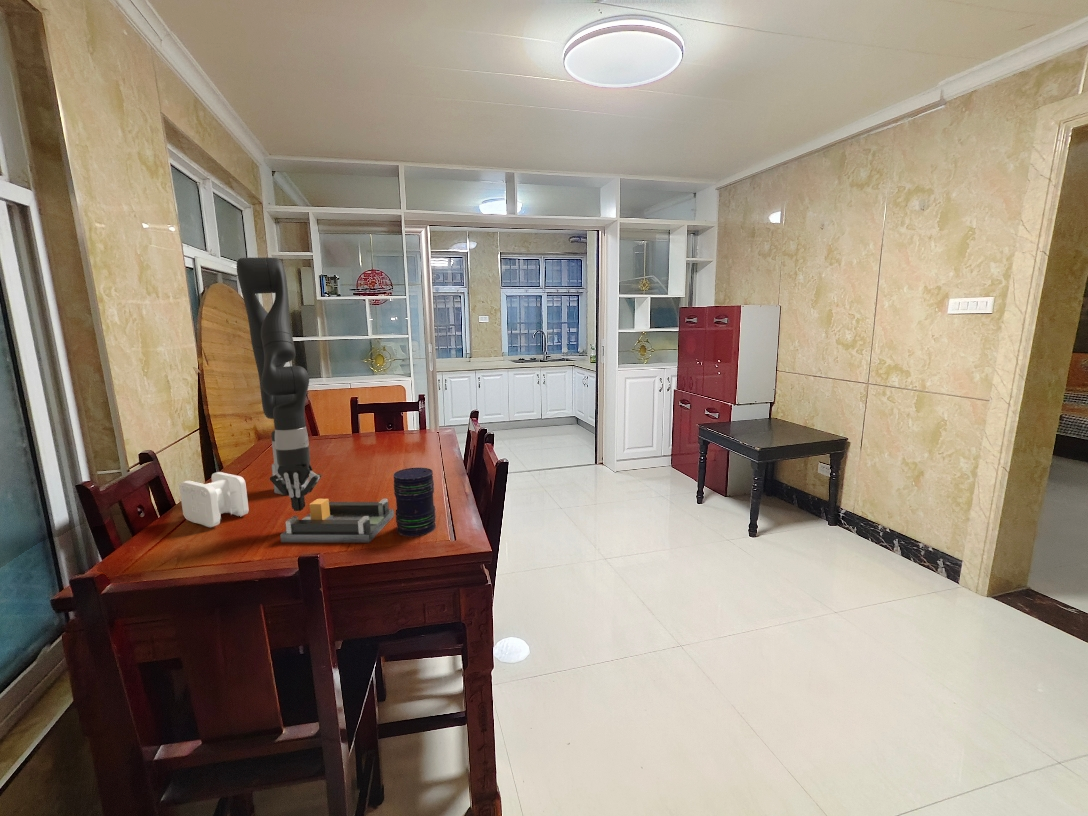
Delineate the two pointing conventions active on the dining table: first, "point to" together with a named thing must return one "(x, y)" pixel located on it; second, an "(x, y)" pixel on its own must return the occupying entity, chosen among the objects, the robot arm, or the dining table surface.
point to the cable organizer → (214, 499)
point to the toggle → (320, 510)
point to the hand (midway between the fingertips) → (299, 510)
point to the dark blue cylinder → (414, 501)
